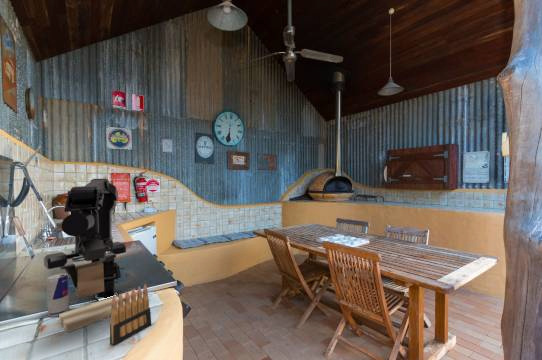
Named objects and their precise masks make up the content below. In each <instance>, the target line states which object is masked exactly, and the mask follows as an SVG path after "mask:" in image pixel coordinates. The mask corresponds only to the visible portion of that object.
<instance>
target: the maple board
mask: <svg viewBox="0 0 542 360" xmlns="http://www.w3.org/2000/svg"><path fill="white" fill-rule="evenodd" d="M134 291H135V294H136V302H137V291H138V289H137V290H136V289H134ZM127 292H128V293H129V297H130V305H131V293H132V290H129V291H127ZM120 294H121V295H122V297H123V304H124V307H125V295H126V292H123V293H119V295H120ZM119 295H116V296H113V297H115V299H116V303H117V311H118V300H119ZM113 297H110V298H107V299H104V300H101V301H98V300H97V301H95V302H92V303H90V304H86V305H83V306H81V307H77V308H73V309H71V310H68V312H65V313H62V314H59V317H58V321H59V322H60V324H61V326H62V327H63V329H64V330H65V332H67V333H71V332H73V331H75V330H78V329H80V328H81V329H82V328H84V327H86V326H89V325H91V324H94V323H96V322H97V323H98V322H99V321H102V320H105V319H107V318H111V305H112V299H113ZM142 299H143V293H142Z"/></svg>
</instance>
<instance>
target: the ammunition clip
mask: <svg viewBox="0 0 542 360" xmlns="http://www.w3.org/2000/svg"><path fill="white" fill-rule="evenodd" d="M134 290H135V288H132V290H131V291H132V293H131V305H130V297H129V293H128V292H129V291H126V292H125V293H126V295H125V307H124V304H123V297H122V295H121V294H122V293H119V294H120V295H119V300H118V311H117V303H116V299H115V297H113V299H112V305H111V316H110V324H109V345H111V346H114V345H115V346H117V345H119V344H120V343H123V342H124V341H126V340H127V339H130V338H131V337H133V336H135V335H137V334H138V333H140V332H141V331H144V330H146V329H147V328H149V327H151V326H152V312H151V307H150V299H149V293H148V287H147V284H146V283H144V285H143V289H141V286H138V287H137V302H136V294H135V291H134ZM142 294H143V299H142ZM115 346H114V347H115Z"/></svg>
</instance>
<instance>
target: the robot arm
mask: <svg viewBox="0 0 542 360" xmlns="http://www.w3.org/2000/svg"><path fill="white" fill-rule="evenodd" d="M118 200H119V192H118V189H117V187H116V185H114V184H112V183H111V182H110V180H109V179H108V178H92V179H91V180H90V182H88V183H87V184H85V185H84V186H83V185H82V186H73V187H71V188H70V190H69V191H68V193H67V198H66V201H65V205H64V211H63V212H65V213H68V212H69V213H70V214H69V215H67V216H66V217H65V218H64V219H63V220H62V222H61V230H62V231H63V233H64V234H66V236H69V237H74V252H72V253H69V254H66V253H64V252H63V251H62V252H55V253H50V254H46V255H45V256H44V258H43V266H44V267H45V268H46V269H47V270H53V269H57V268H59V269H60V270H65V272H66V274H67V276H68V278H69V279H70V281H71V283H72V285H73V288H76V287H77V279H76V273H75V266H76V264H74V261H76V260H79V259H80V260H81V259H84V261H86V262H90V263H93V262H97V261H99V262H101V263H103V270H104V291H103V292H99V293H96V295H97V297H104V298H107V297H110V296H113V295H114V293H115V291H116V280H119V279H120V278H122V272H121V266H120V265H119V263H118V262H117V255H121V254H124V253H127V246H126V244H125V243H123V242H122V241H121V242H120V241H115V242H113V241H114V240H113V238H112V224H113V223H112V218H113V217H112V216H113V215H112V212H113V211H114V210H115V208H116V207H117V201H118Z"/></svg>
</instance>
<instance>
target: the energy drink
mask: <svg viewBox="0 0 542 360" xmlns="http://www.w3.org/2000/svg"><path fill="white" fill-rule="evenodd" d="M69 295H70V294H69V275H68V273H67V272H66V273H65V272H61V273H60V272H59V273H56V274H53V275H52V274H51V275H49V276H47V277H46V299H47V300H46V302H47V304H46V305H47V316H48V317H50V318H51V317H52V318H55V317H58V316H59V314H62V313H65V312H68V311H70V301H69V300H70V299H69Z"/></svg>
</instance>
